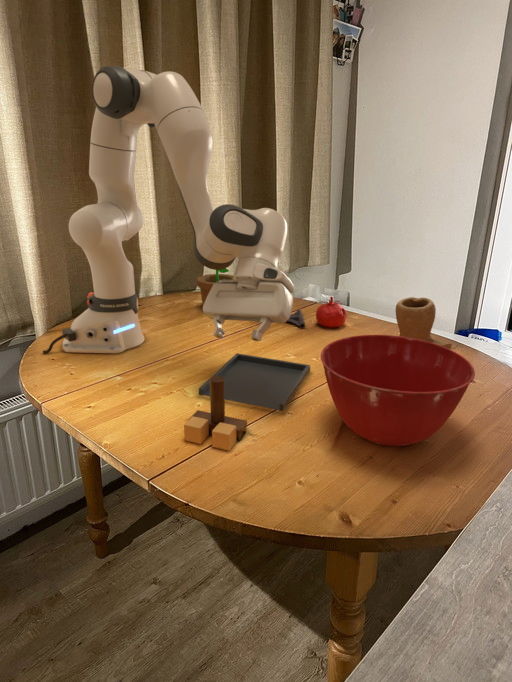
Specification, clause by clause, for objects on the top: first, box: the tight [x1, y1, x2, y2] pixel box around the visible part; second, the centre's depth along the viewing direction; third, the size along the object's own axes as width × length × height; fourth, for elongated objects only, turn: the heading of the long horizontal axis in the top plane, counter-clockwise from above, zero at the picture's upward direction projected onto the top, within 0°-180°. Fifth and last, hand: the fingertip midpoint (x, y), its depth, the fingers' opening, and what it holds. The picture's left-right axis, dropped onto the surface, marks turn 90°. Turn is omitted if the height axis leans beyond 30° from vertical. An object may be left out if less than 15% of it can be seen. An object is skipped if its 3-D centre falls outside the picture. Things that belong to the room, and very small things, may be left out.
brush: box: [188, 375, 248, 442], centre depth 98 cm, size 11×4×12 cm, turn 69°
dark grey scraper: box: [285, 309, 306, 329], centre depth 162 cm, size 14×15×3 cm
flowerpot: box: [196, 268, 234, 306], centre depth 170 cm, size 14×14×30 cm
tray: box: [198, 352, 311, 412], centre depth 119 cm, size 22×20×2 cm
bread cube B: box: [183, 415, 210, 445], centre depth 97 cm, size 4×4×4 cm
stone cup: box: [395, 296, 453, 350], centre depth 138 cm, size 15×12×15 cm
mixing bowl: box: [320, 334, 476, 447], centre depth 99 cm, size 28×28×16 cm
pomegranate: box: [315, 295, 348, 329], centre depth 158 cm, size 10×10×9 cm
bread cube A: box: [211, 422, 237, 452], centre depth 95 cm, size 4×4×4 cm
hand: (236, 338), depth 103 cm, fingers open, 8 cm apart
